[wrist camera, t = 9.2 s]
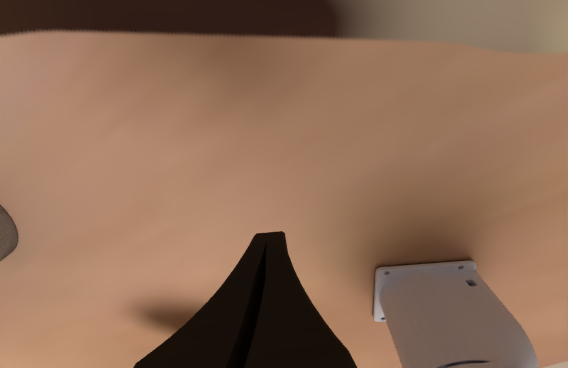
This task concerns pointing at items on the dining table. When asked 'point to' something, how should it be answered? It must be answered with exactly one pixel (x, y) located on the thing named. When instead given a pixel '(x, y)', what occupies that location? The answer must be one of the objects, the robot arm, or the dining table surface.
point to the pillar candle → (7, 234)
